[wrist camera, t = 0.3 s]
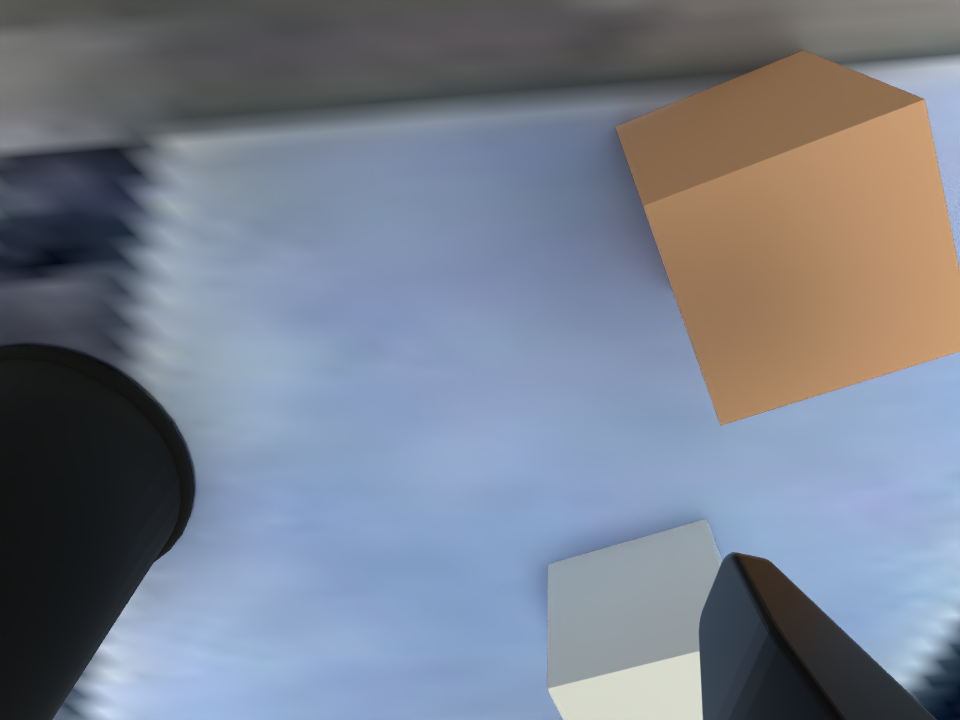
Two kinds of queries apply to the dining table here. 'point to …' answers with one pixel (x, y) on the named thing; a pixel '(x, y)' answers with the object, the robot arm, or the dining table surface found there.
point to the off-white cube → (631, 627)
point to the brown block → (799, 230)
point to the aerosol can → (76, 515)
